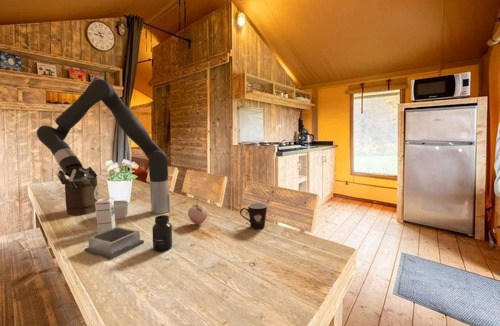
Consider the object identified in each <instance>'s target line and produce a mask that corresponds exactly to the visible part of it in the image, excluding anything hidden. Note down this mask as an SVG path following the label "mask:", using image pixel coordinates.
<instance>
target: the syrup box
mask: <svg viewBox="0 0 500 326" xmlns="http://www.w3.org/2000/svg"><path fill="white" fill-rule="evenodd" d="M114 201H115V200H114V198H113V197H103V198H99V200H98V201H97V202H95V208H96V211H95V217H96V226H97V227H96V228H97V234H99V233H102V232H105V231H107V230H110V229H112V228H115V227H117V226H116V225H117V224H116V220H115V211H114Z"/></svg>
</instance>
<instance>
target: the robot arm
mask: <svg viewBox="0 0 500 326" xmlns="http://www.w3.org/2000/svg"><path fill="white" fill-rule="evenodd" d="M86 87H87V88H86V89H85V90H84V91H83V92H82V94H80V96H79V97H78V98H77V99H76V100H75V101H74V102H73V103H72V104H71V105H70V106H69V107H68V108H66V109H65V110H64V111H62V113H61V114H59V115H58V116H57V117H56V118H55V119H54V122H55V124H56V125H57V127H56V128H55V127H53V126H50V125H42V126H39V127H38V128H37V130H36V136H37V138H38V140H39V141H40V142H41V143H42V144H43V145H44V146H45V147H46V148H48V149H49V150H50V153H51V154H52V155H53V157H54V159H55V160H56V163H57V164H58V166H59V167H60V168H61V170H59V171H58V172H57V174H56V176H57V178H58V179H59V181H60V183H61V185H63V186H65V184H67V185H69V186H70V188H71V189H72V190H73V191H76V190H77V186H76V185H75V183H74V182H72V181H73V179H81V178H83V179H87V180H89V181H90V183H91V184H92V186H93V187H96V185H97V186H98V181H97V182H96V181H95V178H96V177H97V178H98V174H97V173H96V172H95V171H94V170H93V168H92V167H91V166H88V168H85V167H83V164H82V162H81V161H80V159H79V158H78V156H77V155H76V154H75V152H74V151H73V150H72V149H71V147H70V146H69V144H68V143H67V142H66V141H65V139H66V137H67V136H68V134H69V133H70V131H71V129H72V128H74V127H75V126H76V125H77V124H78V123H79V122H81V120H83V118H84V117H85V116H86V114H87V113H88V112H89V110H91V108H92V107H93V106H94V105H96V104H98V103H99V102H100V101H101V103H103V105H105V106H106V107H107V108H108V109H109V110H110V112H111V113H112V115H113V117H114V120H115V121H116V123H117V124H118V126H119V127H120V129H121V130H122V132H124V133H125V134H126V135H127V137H128V138H129V139H130V140H131V141H132V142H134V144H136V145H137V146H138V147H139V148H140V149H141V151H143V154H144V155H145V156H146V157H147V159H148V172H149V175H148V176H149V189H150V190H149V191H150V212H151V214H154V215H155V214H156V215H158V214H159V215H162V214H165V213H166V214H167V213H168V212H170V211H171V209H170V208H171V207H170V206H171V205H170V203H171V202H170V200H171V199H170V192H169V191H170V189H169V165H168V164H169V160H168V156H167V154H166V153H165V152H164V151H163V150H162V149H161V148H160V147H159V146H158V145H157V144H156V143H155V142H154V140H153V139H152V137H151V136H150V134H149V133H148V131H147V129H146V128H145V126H144V125H143V124H142V122H141V121H140V119H138V118H137V116H136V115H135V114H134V113H133V112H132V111H131V109H130V108H129V107H128V106H127V105H126V104H125V103H124V101H123V100H122V99H121V98H120V96H119V95H118V93H117V91H116V89H115V88H114V86H113V85H112V84H111V83H110V82H108V81H107V80H106V79H101V78H95V79H94V80H92V81H91V82H90V83H89V85H88V86H86ZM66 176H67V177H68V178H67V177H66ZM89 177H90V178H89ZM67 179H68V180H67Z"/></svg>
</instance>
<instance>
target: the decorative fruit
mask: <svg viewBox="0 0 500 326" xmlns="http://www.w3.org/2000/svg"><path fill="white" fill-rule="evenodd" d="M208 215H209V214H208V210H207V208H206V207H205V206H203V205H199V204H198V203H197V204H194V205H192V206H191V207H190V208H189V210H188V212H187V216H188V218H189V219H190V221H191V222H192V223H194V224H195V225H201V224H202V223H204V222H205V221H206V220H207V217H208Z"/></svg>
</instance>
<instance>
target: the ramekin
mask: <svg viewBox="0 0 500 326" xmlns="http://www.w3.org/2000/svg"><path fill="white" fill-rule="evenodd" d="M129 204H130V203H129V201H128V200H114V211H115V221H116V220H121V219H124V218H126V216H127V215H128V213H129Z"/></svg>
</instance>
